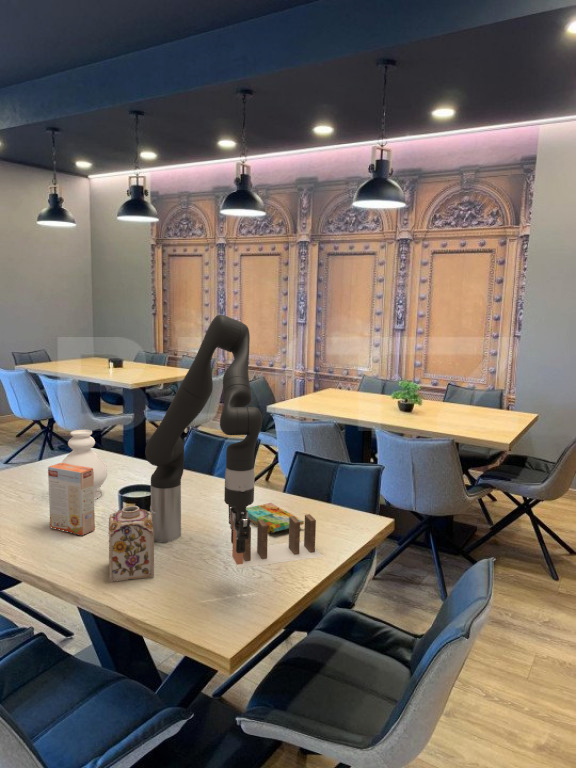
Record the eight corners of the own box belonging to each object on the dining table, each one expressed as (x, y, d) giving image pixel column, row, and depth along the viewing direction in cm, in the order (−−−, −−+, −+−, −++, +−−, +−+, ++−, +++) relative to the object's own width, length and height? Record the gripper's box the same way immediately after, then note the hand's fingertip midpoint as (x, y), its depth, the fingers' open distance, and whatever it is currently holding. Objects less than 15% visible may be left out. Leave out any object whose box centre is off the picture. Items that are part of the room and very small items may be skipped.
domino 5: (309, 552, 168) (310, 520, 167) (303, 545, 173) (304, 514, 172) (314, 552, 169) (315, 520, 168) (308, 545, 174) (309, 514, 172)
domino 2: (245, 561, 162) (245, 528, 160) (240, 553, 166) (241, 521, 165) (250, 560, 162) (251, 527, 161) (246, 553, 167) (246, 521, 166)
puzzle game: (269, 500, 201) (303, 518, 185) (269, 512, 201) (303, 532, 185) (241, 506, 194) (274, 525, 178) (241, 519, 195) (273, 540, 178)
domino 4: (294, 554, 167) (295, 522, 165) (288, 547, 171) (289, 516, 170) (299, 554, 167) (300, 522, 166) (293, 547, 172) (294, 515, 170)
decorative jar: (154, 578, 152) (153, 514, 149) (109, 583, 148) (107, 518, 146) (152, 558, 163) (151, 499, 160) (109, 563, 160) (108, 502, 157)
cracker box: (96, 530, 182) (94, 467, 179) (82, 537, 176) (80, 472, 173) (63, 522, 188) (61, 461, 185) (49, 528, 182) (46, 466, 179)
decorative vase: (46, 500, 207) (44, 434, 203) (80, 486, 223) (78, 424, 220) (86, 508, 201) (84, 439, 197) (117, 493, 217) (116, 429, 213)
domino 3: (261, 559, 163) (262, 526, 162) (257, 551, 168) (257, 519, 167) (267, 558, 164) (267, 525, 163) (262, 551, 169) (262, 519, 167)
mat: (237, 569, 158) (237, 568, 157) (227, 551, 169) (227, 550, 169) (323, 557, 166) (323, 556, 166) (308, 541, 177) (308, 540, 177)
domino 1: (236, 564, 144) (237, 527, 142) (232, 556, 148) (233, 519, 147) (242, 563, 144) (243, 526, 143) (238, 555, 149) (239, 519, 147)
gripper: (219, 476, 149) (217, 537, 151) (231, 495, 135) (229, 561, 138) (246, 474, 151) (245, 535, 154) (261, 492, 138) (259, 558, 140)
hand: (237, 547), depth 146 cm, fingers closed on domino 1, 5 cm apart
